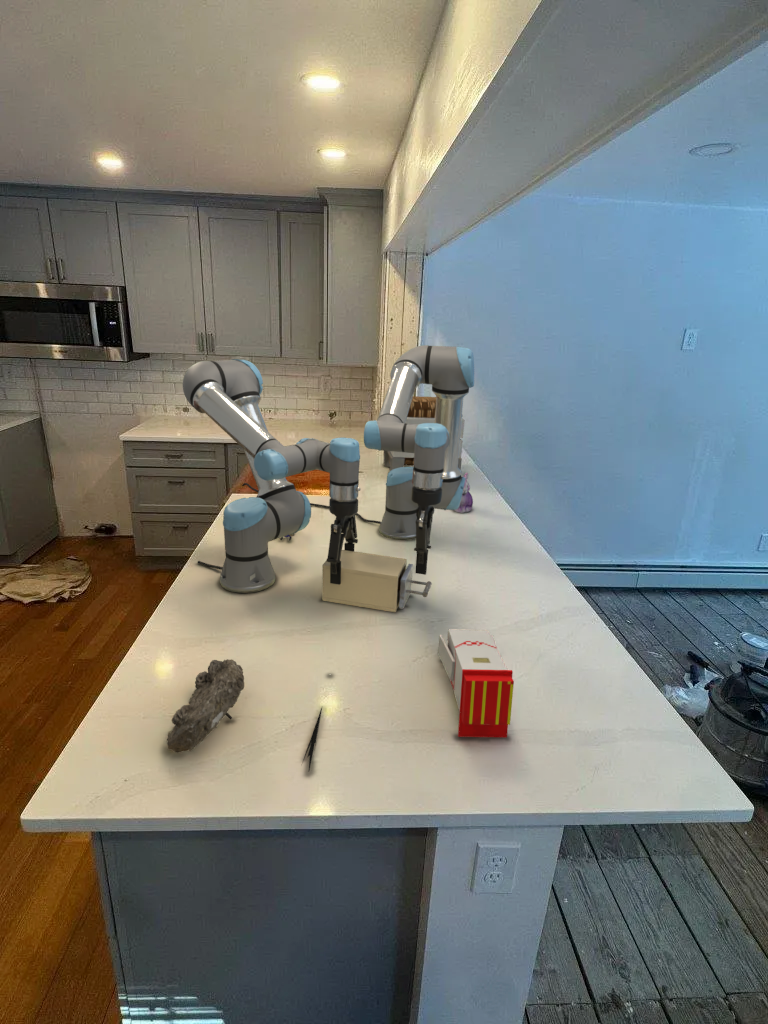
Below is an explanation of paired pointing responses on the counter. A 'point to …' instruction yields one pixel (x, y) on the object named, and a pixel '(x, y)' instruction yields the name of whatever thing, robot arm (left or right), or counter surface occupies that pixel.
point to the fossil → (206, 705)
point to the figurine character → (288, 536)
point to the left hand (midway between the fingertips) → (342, 573)
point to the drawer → (409, 586)
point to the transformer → (418, 414)
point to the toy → (478, 682)
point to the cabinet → (365, 581)
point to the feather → (313, 740)
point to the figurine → (465, 498)
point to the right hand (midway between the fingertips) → (420, 572)
